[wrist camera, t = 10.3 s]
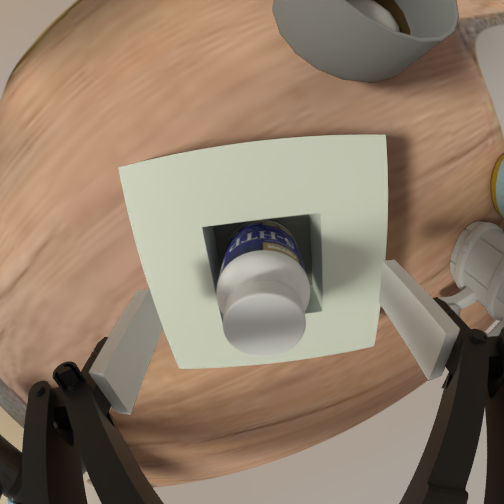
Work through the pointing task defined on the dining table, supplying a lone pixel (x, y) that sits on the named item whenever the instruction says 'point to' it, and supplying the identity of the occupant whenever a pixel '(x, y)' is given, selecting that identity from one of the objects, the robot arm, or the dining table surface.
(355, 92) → the dining table surface
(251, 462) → the dining table surface
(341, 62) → the cup
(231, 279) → the pill bottle
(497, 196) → the bottle
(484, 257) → the mug
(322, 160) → the socket block
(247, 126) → the dining table surface
